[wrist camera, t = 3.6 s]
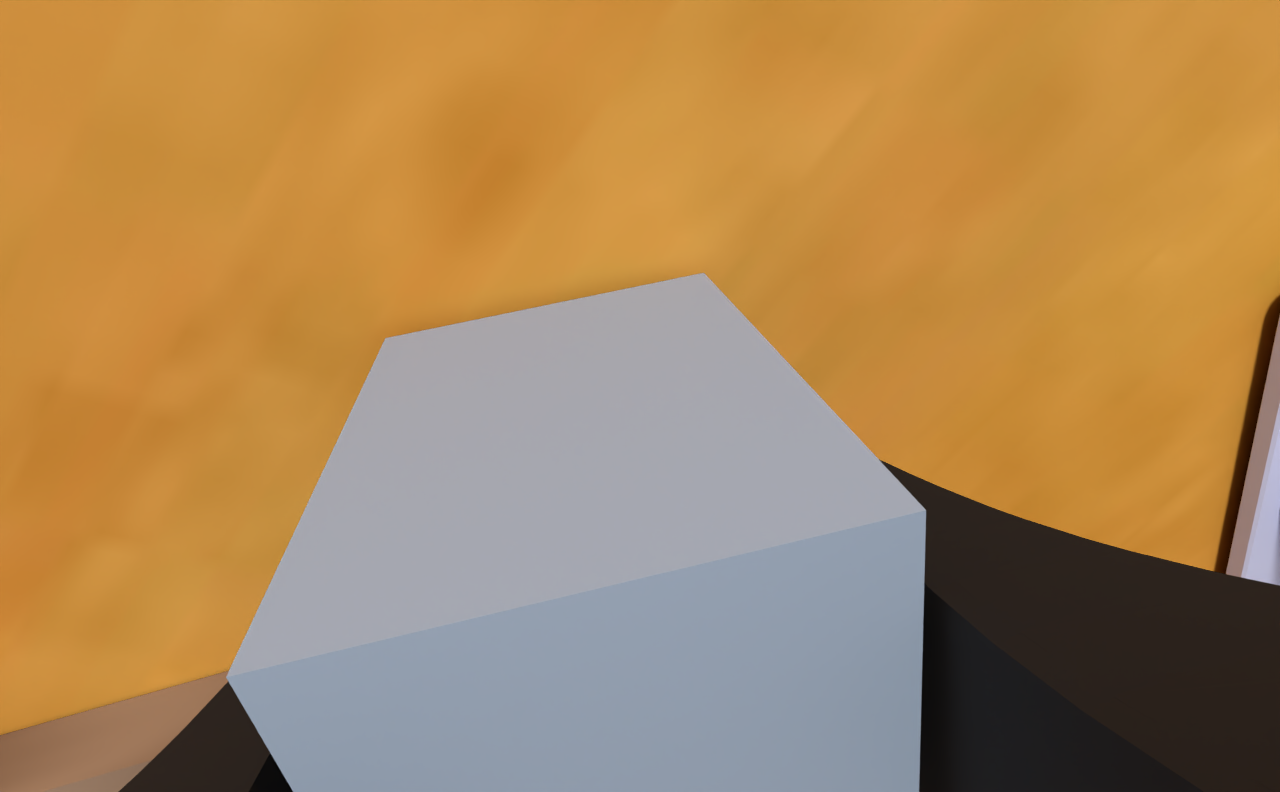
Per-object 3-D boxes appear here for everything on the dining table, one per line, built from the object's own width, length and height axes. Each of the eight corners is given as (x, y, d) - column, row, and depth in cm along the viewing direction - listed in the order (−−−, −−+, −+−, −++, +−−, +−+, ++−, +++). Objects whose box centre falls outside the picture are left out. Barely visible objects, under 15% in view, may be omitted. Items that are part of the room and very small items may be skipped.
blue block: (704, 272, 10) (927, 510, 5) (735, 527, 12) (916, 901, 7) (385, 338, 10) (225, 678, 4) (472, 589, 12) (437, 1037, 6)
